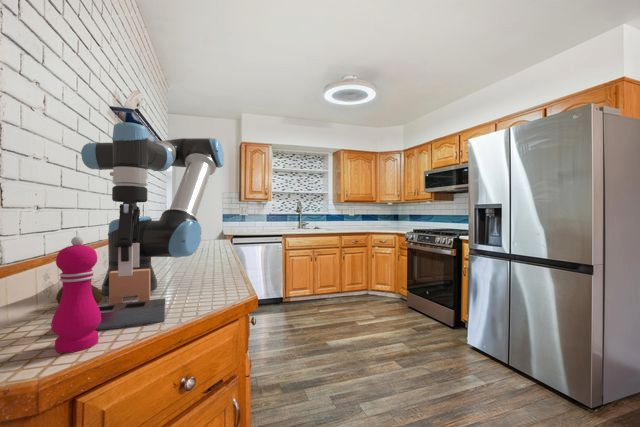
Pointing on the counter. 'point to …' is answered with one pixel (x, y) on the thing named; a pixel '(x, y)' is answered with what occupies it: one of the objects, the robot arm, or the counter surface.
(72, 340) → the pepper mill
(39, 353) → the counter surface
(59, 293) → the potato
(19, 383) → the counter surface
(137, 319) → the rail
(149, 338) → the counter surface
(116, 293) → the peach wedge-cut bar
